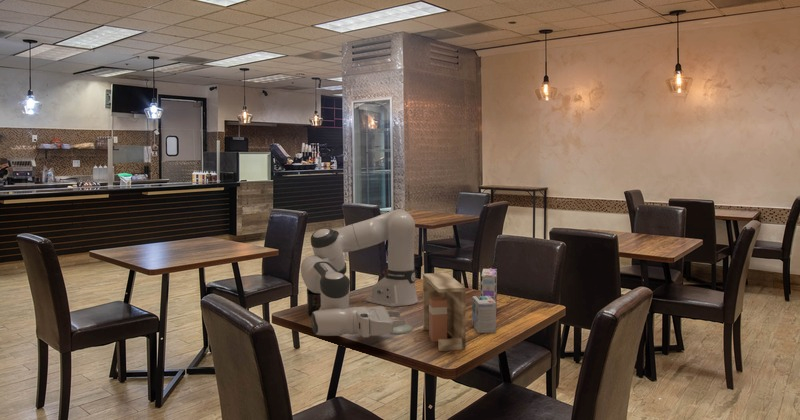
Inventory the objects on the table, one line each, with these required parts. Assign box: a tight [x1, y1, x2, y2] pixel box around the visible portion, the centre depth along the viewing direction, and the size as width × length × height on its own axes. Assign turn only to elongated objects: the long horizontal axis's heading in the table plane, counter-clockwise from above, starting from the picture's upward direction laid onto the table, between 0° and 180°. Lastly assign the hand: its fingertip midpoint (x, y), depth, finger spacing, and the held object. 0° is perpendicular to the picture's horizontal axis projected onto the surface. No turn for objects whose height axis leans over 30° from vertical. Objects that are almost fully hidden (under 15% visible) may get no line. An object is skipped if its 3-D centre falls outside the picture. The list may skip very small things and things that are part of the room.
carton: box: [428, 297, 448, 343], centre depth 193 cm, size 5×5×14 cm
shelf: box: [422, 272, 467, 352], centre depth 193 cm, size 9×23×20 cm, turn 10°
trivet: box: [389, 323, 413, 335], centre depth 204 cm, size 10×10×1 cm
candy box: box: [480, 268, 498, 310], centre depth 224 cm, size 14×6×16 cm, turn 168°
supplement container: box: [306, 287, 321, 316], centre depth 225 cm, size 7×7×10 cm
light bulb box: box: [471, 295, 497, 334], centre depth 204 cm, size 11×7×11 cm, turn 5°
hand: (402, 317), depth 190 cm, fingers open, 8 cm apart
